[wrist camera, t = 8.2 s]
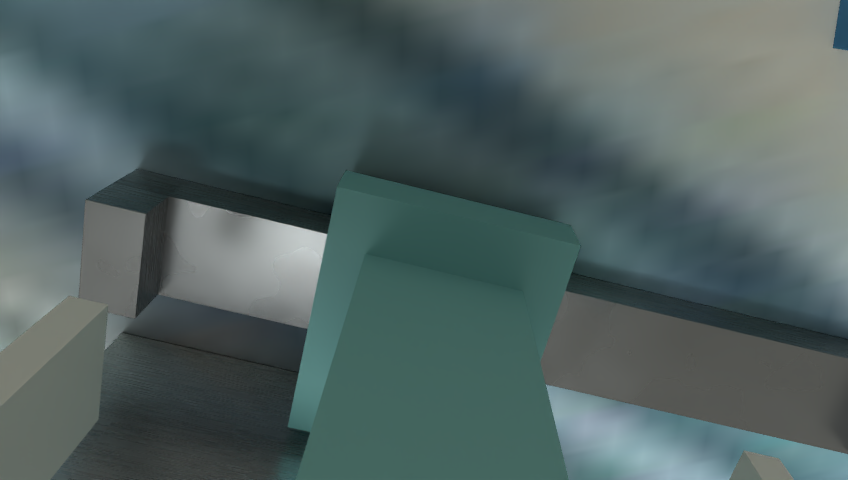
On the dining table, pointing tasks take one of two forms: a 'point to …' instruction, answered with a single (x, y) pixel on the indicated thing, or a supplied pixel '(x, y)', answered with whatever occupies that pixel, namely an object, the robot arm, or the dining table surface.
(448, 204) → the carriage
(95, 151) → the dining table surface
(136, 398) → the button housing
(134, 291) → the rail
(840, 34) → the perfume bottle
